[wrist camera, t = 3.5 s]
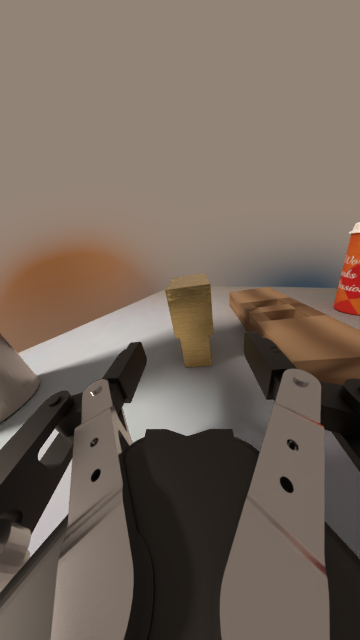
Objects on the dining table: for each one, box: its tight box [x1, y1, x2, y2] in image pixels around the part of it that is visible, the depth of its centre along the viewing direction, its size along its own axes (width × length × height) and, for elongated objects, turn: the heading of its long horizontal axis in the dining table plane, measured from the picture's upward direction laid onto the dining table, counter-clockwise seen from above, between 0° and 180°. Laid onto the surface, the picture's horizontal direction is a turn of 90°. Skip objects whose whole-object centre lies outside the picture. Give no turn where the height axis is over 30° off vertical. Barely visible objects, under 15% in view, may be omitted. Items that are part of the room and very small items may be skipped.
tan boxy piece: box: [165, 273, 214, 367], centre depth 20 cm, size 5×7×11 cm, turn 176°
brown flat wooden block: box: [230, 287, 360, 385], centre depth 24 cm, size 9×24×4 cm, turn 176°
